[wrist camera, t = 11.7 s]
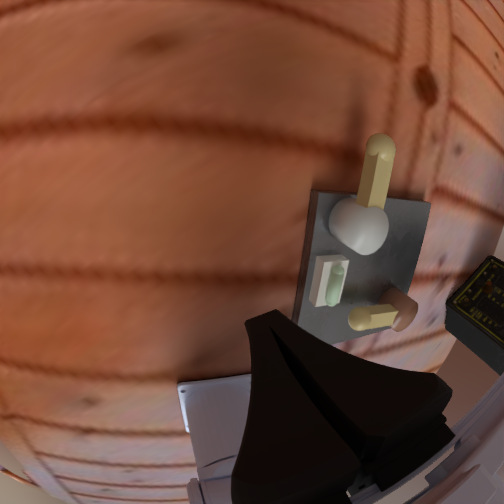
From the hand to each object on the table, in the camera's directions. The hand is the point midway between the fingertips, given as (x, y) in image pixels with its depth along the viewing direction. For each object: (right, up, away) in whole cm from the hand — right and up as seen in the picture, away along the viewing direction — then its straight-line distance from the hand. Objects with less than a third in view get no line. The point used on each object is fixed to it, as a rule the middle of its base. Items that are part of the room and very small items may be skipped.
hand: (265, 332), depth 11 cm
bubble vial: (+5, +1, +12) cm, 13 cm away
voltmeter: (+36, -3, +25) cm, 44 cm away
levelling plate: (+10, +1, +15) cm, 18 cm away
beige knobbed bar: (+11, -2, +15) cm, 19 cm away
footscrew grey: (+7, +8, +9) cm, 14 cm away
